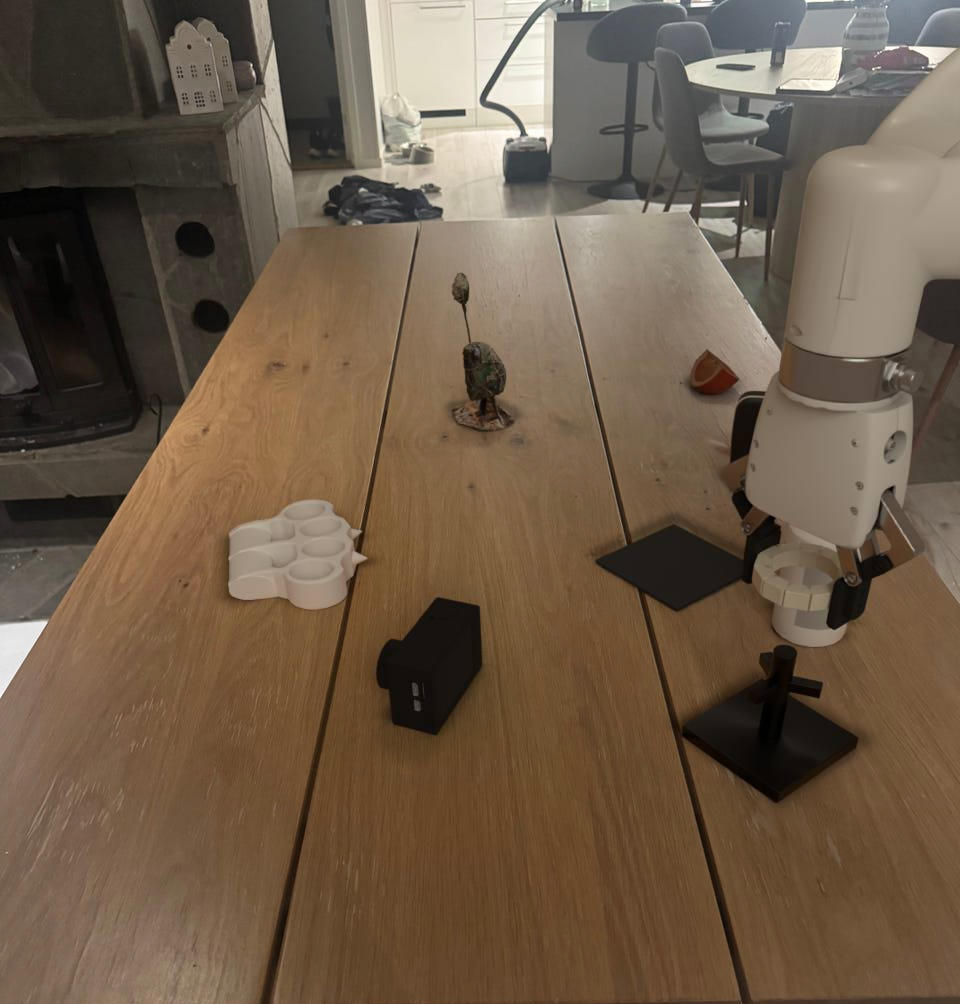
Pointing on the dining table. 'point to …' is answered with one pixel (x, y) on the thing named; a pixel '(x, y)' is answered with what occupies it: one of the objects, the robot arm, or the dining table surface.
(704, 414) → the dining table surface
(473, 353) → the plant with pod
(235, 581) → the white brass knuckles
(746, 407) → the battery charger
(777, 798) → the rack
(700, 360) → the fruit slice
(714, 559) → the mat
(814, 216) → the robot arm
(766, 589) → the ring
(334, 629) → the dining table surface
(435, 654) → the digital camera
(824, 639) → the spray bottle
